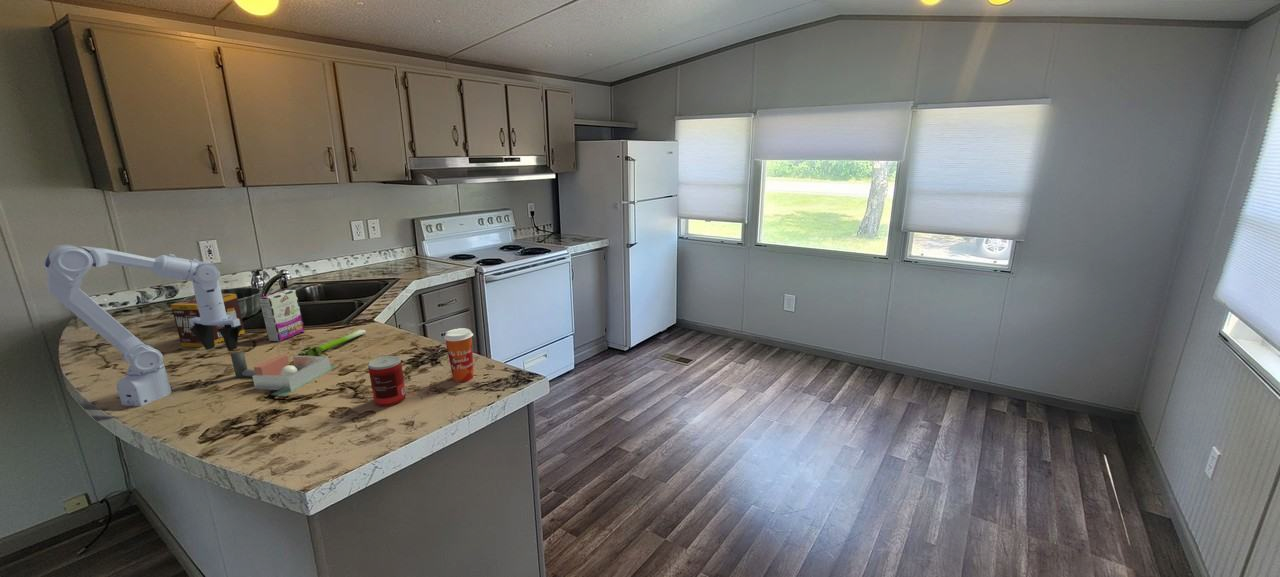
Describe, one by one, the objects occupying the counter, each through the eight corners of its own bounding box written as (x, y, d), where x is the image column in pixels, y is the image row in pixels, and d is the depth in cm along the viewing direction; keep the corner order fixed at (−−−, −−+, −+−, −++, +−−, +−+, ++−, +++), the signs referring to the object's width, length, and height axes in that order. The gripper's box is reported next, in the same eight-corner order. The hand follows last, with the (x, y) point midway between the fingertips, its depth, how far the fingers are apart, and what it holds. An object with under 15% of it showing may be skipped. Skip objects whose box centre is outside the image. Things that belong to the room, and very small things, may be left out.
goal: (291, 391, 138) (288, 377, 137) (255, 389, 140) (252, 376, 139) (330, 369, 153) (328, 356, 152) (298, 367, 154) (295, 355, 153)
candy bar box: (294, 331, 192) (285, 289, 188) (305, 332, 191) (297, 289, 187) (267, 341, 181) (257, 297, 177) (279, 342, 180) (269, 297, 176)
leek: (371, 339, 187) (312, 365, 157) (354, 342, 188) (292, 368, 158) (368, 323, 186) (307, 347, 156) (350, 326, 187) (287, 349, 157)
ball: (288, 368, 143) (275, 368, 144) (291, 382, 144) (278, 381, 145) (299, 363, 147) (287, 362, 148) (302, 376, 148) (289, 375, 149)
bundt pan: (279, 313, 216) (275, 290, 213) (204, 332, 194) (197, 306, 191) (249, 306, 229) (245, 284, 226) (175, 322, 207) (169, 298, 204)
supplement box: (180, 347, 178) (169, 304, 174) (222, 332, 193) (212, 292, 189) (206, 348, 176) (195, 304, 173) (245, 333, 191) (236, 293, 187)
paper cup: (448, 385, 142) (442, 337, 139) (450, 374, 149) (444, 329, 146) (477, 381, 144) (472, 334, 141) (478, 371, 151) (473, 326, 148)
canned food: (397, 390, 139) (391, 353, 137) (412, 398, 134) (406, 360, 132) (368, 401, 134) (362, 362, 131) (382, 410, 129) (376, 369, 126)
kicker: (264, 383, 143) (259, 360, 141) (223, 382, 144) (218, 359, 143) (290, 370, 151) (285, 348, 150) (251, 369, 153) (246, 347, 151)
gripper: (245, 300, 147) (255, 345, 150) (202, 299, 149) (213, 343, 153) (222, 307, 140) (233, 353, 144) (178, 306, 143) (189, 351, 146)
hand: (221, 349), depth 148 cm, fingers open, 7 cm apart
